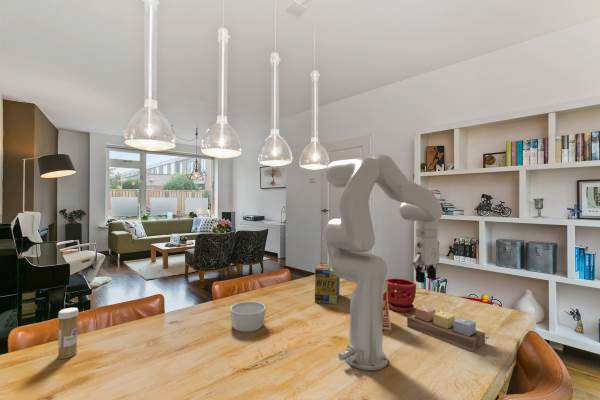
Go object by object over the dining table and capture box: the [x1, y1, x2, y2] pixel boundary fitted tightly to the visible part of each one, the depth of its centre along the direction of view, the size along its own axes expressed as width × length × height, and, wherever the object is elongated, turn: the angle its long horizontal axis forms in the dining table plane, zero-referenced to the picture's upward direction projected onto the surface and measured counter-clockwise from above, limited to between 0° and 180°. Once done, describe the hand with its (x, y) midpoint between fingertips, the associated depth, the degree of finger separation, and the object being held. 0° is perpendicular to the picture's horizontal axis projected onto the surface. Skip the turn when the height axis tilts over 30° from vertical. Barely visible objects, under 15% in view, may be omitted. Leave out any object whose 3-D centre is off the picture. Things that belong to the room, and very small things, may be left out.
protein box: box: [314, 262, 341, 305], centre depth 141 cm, size 10×15×16 cm
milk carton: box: [383, 279, 393, 331], centre depth 112 cm, size 9×9×20 cm
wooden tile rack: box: [406, 313, 486, 353], centre depth 104 cm, size 10×23×3 cm, turn 37°
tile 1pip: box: [453, 316, 477, 336], centre depth 98 cm, size 5×5×4 cm
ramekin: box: [229, 301, 267, 333], centre depth 108 cm, size 13×13×7 cm
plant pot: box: [386, 278, 417, 313], centre depth 130 cm, size 13×13×12 cm
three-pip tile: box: [415, 305, 436, 322], centre depth 110 cm, size 5×5×4 cm
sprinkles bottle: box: [57, 307, 79, 360], centre depth 86 cm, size 5×5×14 cm
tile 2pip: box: [433, 310, 455, 329], centre depth 104 cm, size 5×5×4 cm
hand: (425, 280), depth 110 cm, fingers open, 7 cm apart
